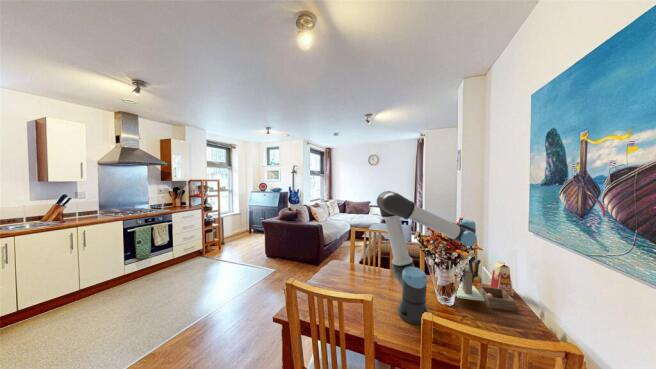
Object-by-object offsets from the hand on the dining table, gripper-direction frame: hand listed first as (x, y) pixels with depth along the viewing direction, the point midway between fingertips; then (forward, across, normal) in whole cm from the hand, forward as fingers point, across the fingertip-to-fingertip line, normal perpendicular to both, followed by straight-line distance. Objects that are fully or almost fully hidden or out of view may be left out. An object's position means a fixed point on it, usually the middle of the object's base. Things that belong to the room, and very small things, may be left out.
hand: (466, 287), depth 131 cm
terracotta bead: (+8, -14, -5) cm, 17 cm away
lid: (+3, 0, 0) cm, 3 cm away
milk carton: (+9, -25, -17) cm, 31 cm away
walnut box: (+8, -16, -2) cm, 18 cm away
